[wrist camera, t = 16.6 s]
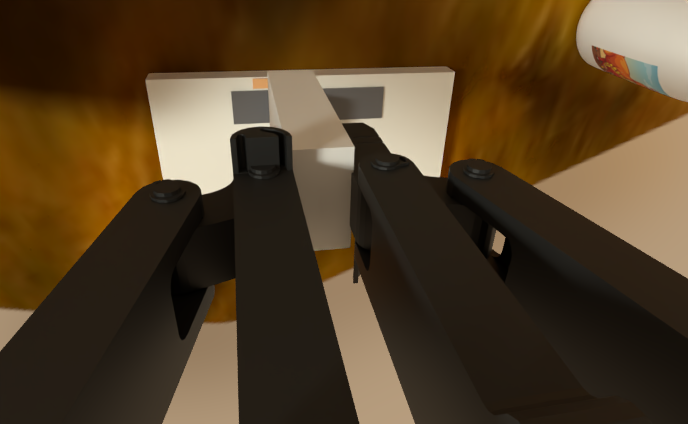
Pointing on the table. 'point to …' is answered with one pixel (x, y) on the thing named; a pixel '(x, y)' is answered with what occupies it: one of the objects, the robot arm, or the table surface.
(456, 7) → the table surface
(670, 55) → the milk bottle
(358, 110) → the switch board
